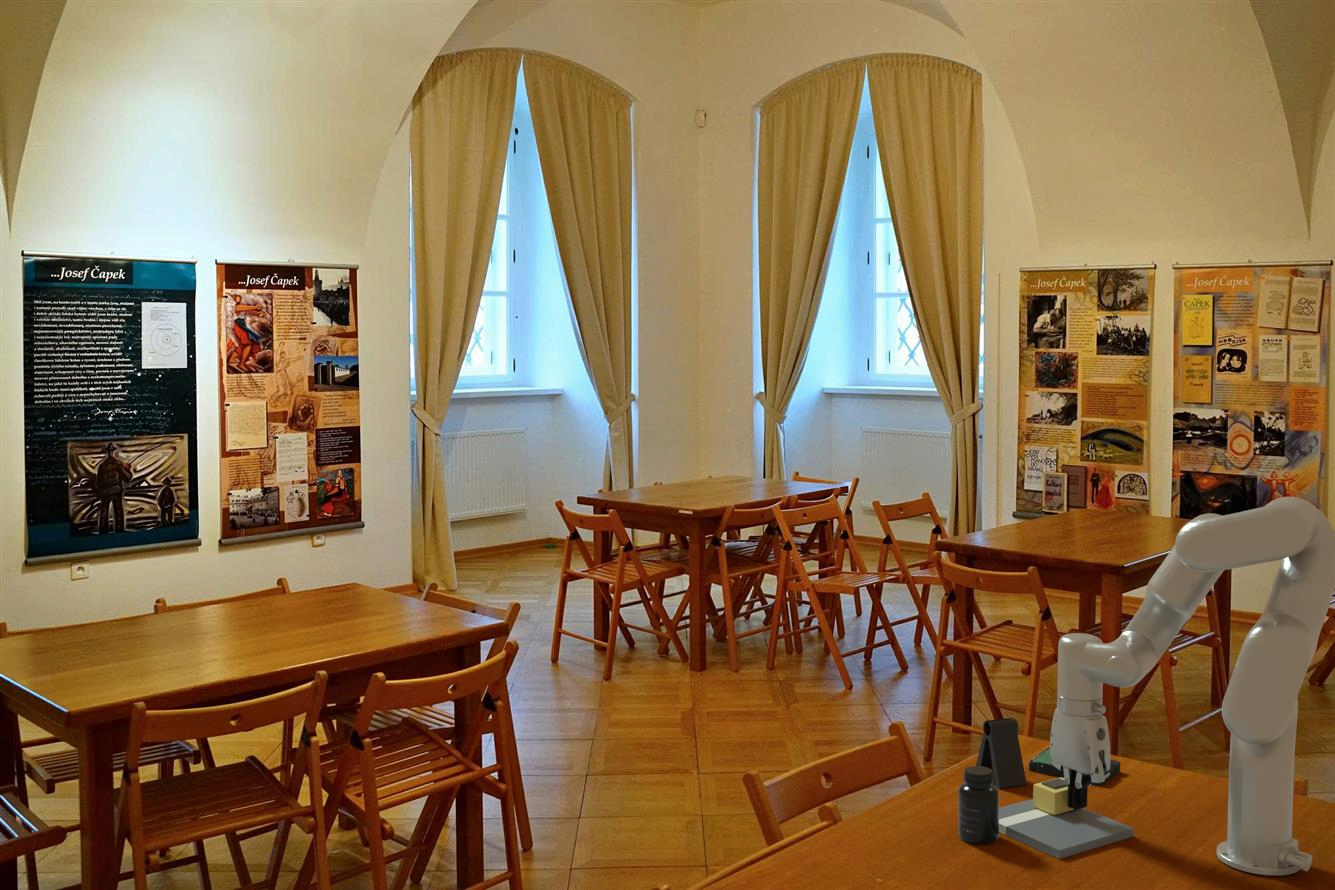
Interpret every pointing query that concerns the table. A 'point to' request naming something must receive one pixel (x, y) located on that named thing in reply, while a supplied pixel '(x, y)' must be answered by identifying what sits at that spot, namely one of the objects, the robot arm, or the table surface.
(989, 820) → the supplement bottle
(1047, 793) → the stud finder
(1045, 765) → the disk drive
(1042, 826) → the board
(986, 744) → the phone stand
